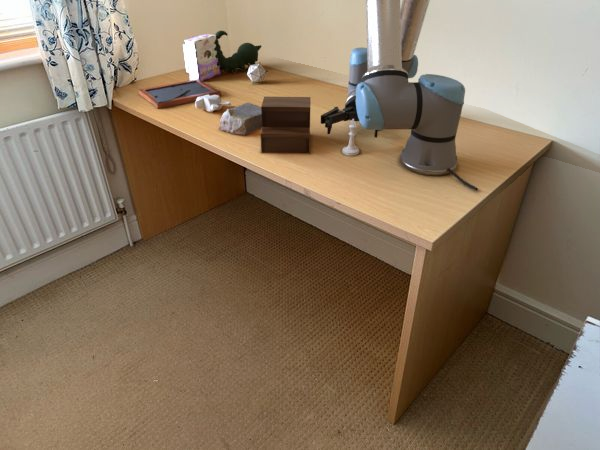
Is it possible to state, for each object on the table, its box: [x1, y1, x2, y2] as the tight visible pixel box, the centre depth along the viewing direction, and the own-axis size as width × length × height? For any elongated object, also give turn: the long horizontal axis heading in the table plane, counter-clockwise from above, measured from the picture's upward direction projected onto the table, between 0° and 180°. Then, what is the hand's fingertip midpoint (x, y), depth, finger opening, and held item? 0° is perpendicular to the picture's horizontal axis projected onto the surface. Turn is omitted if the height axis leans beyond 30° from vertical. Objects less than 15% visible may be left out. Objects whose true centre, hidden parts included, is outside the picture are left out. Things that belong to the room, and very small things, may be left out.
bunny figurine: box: [194, 95, 232, 113], centre depth 153 cm, size 10×5×15 cm
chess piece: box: [341, 119, 360, 156], centre depth 124 cm, size 5×5×10 cm
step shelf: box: [259, 96, 311, 155], centre depth 128 cm, size 14×14×12 cm
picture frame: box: [138, 79, 221, 109], centre depth 168 cm, size 20×2×25 cm
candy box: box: [183, 33, 221, 82], centre depth 183 cm, size 14×6×16 cm, turn 149°
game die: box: [244, 61, 269, 85], centre depth 180 cm, size 9×8×10 cm
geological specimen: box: [218, 102, 262, 136], centre depth 141 cm, size 11×6×15 cm
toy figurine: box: [214, 30, 262, 74], centre depth 192 cm, size 9×19×25 cm
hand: (352, 131), depth 124 cm, fingers open, 13 cm apart
